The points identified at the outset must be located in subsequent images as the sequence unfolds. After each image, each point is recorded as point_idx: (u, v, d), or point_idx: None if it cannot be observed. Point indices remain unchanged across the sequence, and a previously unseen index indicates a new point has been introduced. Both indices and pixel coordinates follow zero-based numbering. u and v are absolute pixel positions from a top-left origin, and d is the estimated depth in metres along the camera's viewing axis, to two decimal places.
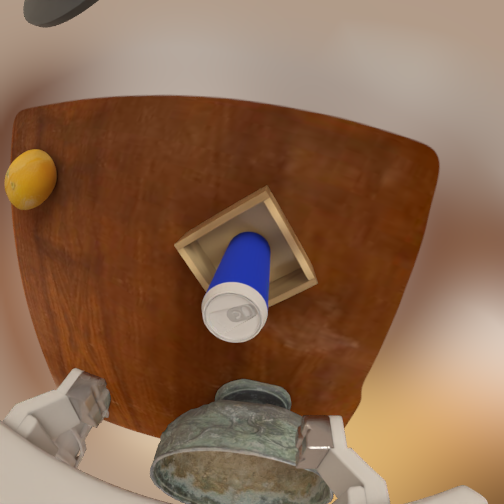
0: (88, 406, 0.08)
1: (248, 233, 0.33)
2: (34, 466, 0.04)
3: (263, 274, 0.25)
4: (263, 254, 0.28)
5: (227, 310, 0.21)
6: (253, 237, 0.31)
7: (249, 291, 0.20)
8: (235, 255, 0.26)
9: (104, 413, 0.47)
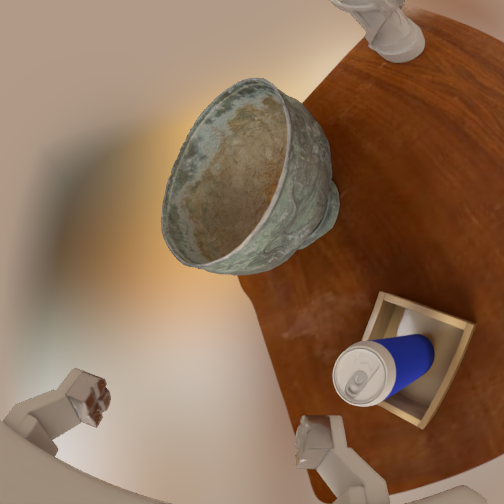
0: (88, 406, 0.08)
1: (423, 374, 0.24)
2: (34, 466, 0.04)
3: None
4: None
5: (368, 378, 0.17)
6: None
7: None
8: (409, 383, 0.20)
9: (374, 46, 0.36)
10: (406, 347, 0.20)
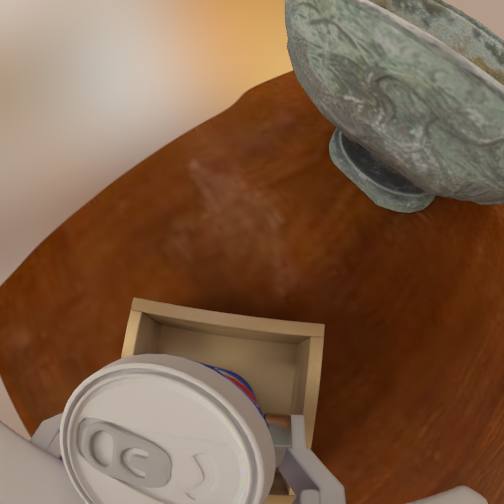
0: None
1: None
2: (34, 466, 0.04)
3: None
4: None
5: (154, 490, 0.04)
6: None
7: None
8: None
9: None
10: None
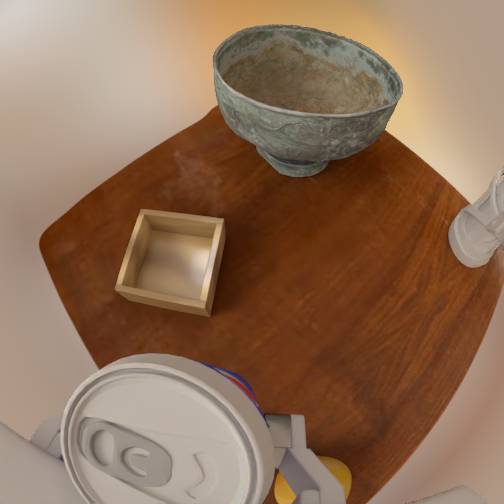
0: None
1: None
2: (34, 466, 0.04)
3: None
4: None
5: (155, 489, 0.04)
6: None
7: None
8: None
9: (461, 213, 0.40)
10: None
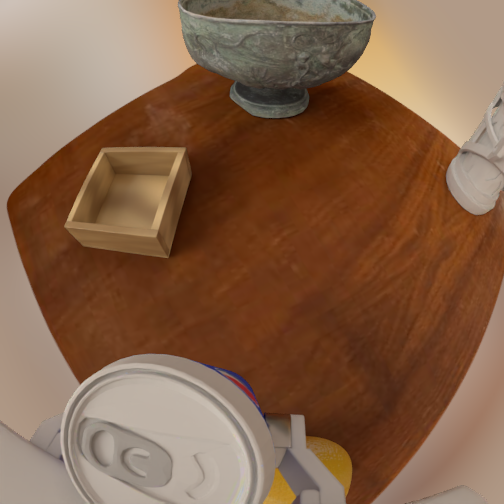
0: None
1: None
2: (34, 466, 0.04)
3: None
4: None
5: (155, 489, 0.04)
6: None
7: None
8: None
9: (458, 156, 0.34)
10: None
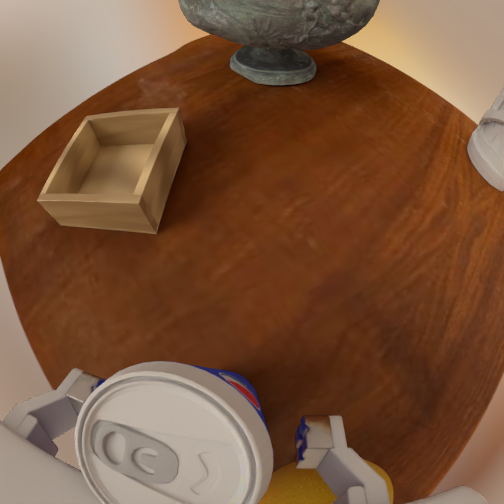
0: None
1: None
2: (34, 466, 0.04)
3: None
4: None
5: (162, 486, 0.05)
6: None
7: None
8: None
9: (478, 129, 0.28)
10: None
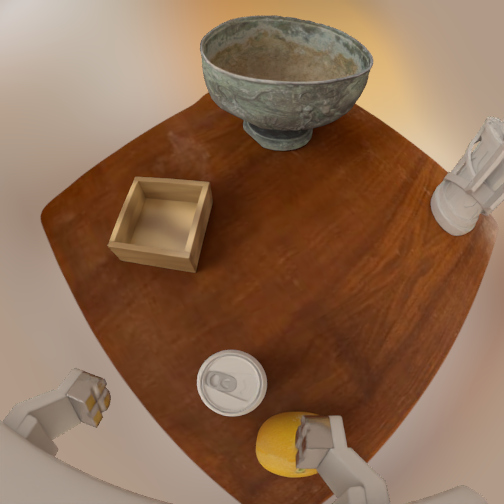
0: (88, 406, 0.08)
1: None
2: (34, 466, 0.04)
3: None
4: None
5: (230, 392, 0.18)
6: None
7: (199, 392, 0.18)
8: None
9: (443, 183, 0.42)
10: None
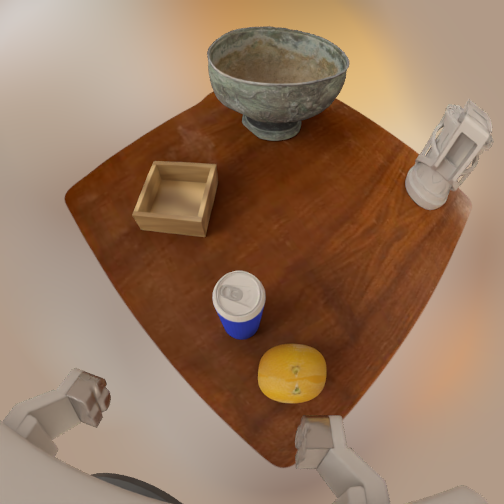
0: (88, 406, 0.08)
1: (229, 334, 0.38)
2: (34, 466, 0.04)
3: None
4: None
5: (238, 301, 0.27)
6: (225, 329, 0.37)
7: (214, 302, 0.27)
8: (229, 328, 0.32)
9: (416, 165, 0.51)
10: (259, 318, 0.31)
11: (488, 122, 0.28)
